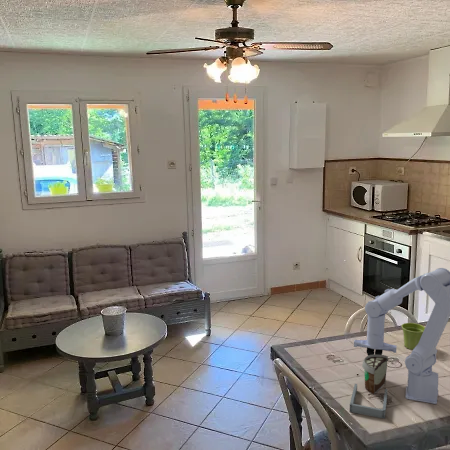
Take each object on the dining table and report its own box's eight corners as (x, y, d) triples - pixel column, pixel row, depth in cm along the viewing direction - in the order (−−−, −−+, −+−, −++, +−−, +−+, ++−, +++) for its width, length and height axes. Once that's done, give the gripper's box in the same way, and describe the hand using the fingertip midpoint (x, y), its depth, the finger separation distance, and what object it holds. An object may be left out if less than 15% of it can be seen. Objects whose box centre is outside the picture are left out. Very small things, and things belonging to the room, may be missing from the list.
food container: (370, 376, 168) (371, 350, 166) (387, 381, 164) (388, 355, 162) (355, 390, 159) (356, 363, 157) (372, 396, 155) (373, 368, 153)
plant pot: (426, 345, 193) (427, 325, 191) (422, 354, 185) (423, 333, 183) (403, 340, 198) (404, 321, 196) (398, 348, 190) (399, 328, 188)
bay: (387, 396, 155) (387, 389, 154) (384, 418, 142) (385, 411, 142) (354, 390, 159) (354, 383, 158) (349, 411, 146) (349, 404, 146)
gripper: (397, 330, 166) (395, 365, 168) (355, 325, 171) (354, 359, 174) (396, 338, 159) (394, 374, 162) (353, 332, 165) (352, 367, 167)
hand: (373, 367), depth 167 cm, fingers closed
